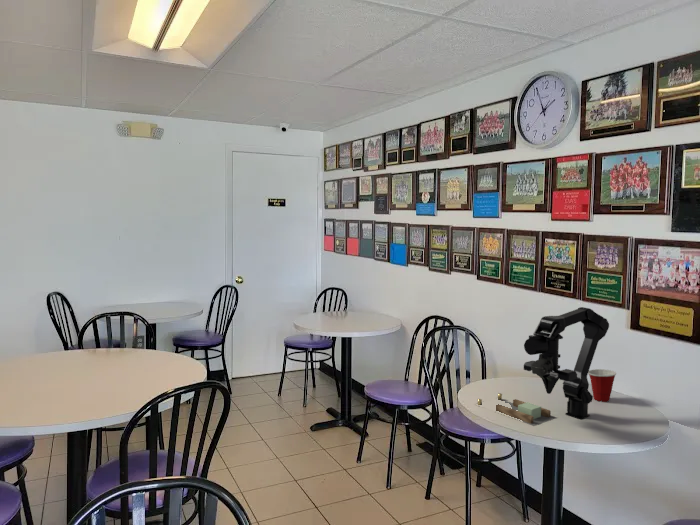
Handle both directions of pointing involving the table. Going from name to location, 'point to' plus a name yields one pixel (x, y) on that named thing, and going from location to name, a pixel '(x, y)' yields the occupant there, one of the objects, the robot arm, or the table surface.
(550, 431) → the table surface
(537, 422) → the charcoal runway
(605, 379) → the plastic cup
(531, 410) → the sage block
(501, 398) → the brass pegs
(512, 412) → the walnut channel
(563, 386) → the robot arm
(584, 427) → the table surface
